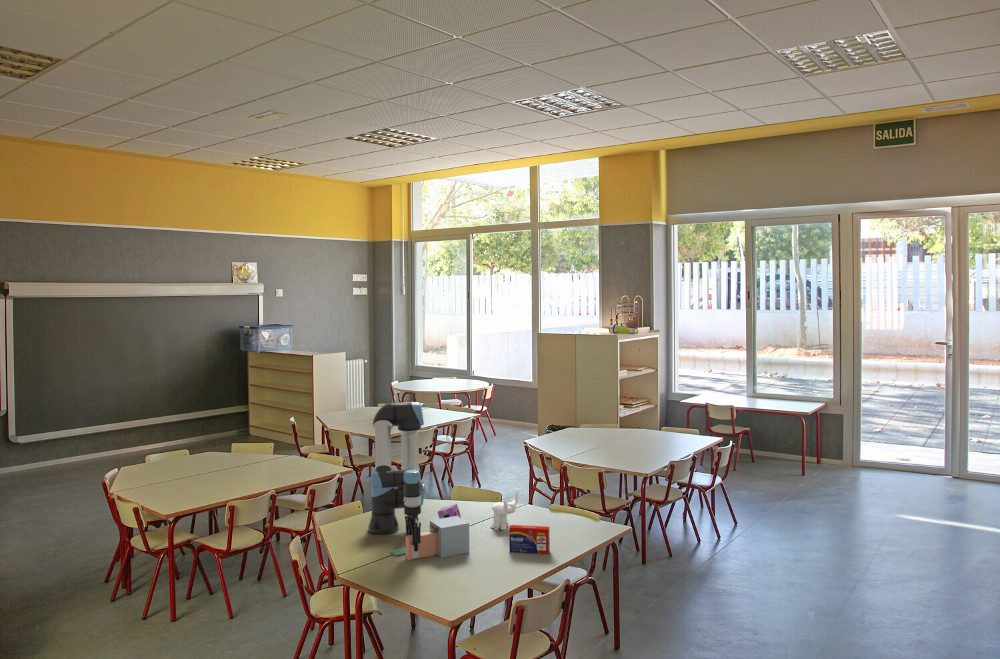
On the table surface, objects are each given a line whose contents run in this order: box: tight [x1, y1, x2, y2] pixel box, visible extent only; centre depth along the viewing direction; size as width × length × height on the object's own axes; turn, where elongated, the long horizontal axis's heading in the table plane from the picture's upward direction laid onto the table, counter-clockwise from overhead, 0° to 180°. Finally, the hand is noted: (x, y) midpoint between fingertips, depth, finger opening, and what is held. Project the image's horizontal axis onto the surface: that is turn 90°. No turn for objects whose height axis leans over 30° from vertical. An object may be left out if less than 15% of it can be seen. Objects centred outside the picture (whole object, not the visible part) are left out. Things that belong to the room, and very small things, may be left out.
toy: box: [437, 503, 463, 519], centre depth 358 cm, size 11×8×15 cm
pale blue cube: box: [429, 516, 470, 559], centre depth 336 cm, size 13×15×14 cm
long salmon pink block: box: [405, 530, 438, 561], centre depth 330 cm, size 4×16×10 cm, turn 119°
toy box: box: [508, 524, 551, 555], centre depth 334 cm, size 18×4×12 cm, turn 79°
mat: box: [389, 547, 406, 557], centre depth 337 cm, size 6×17×1 cm, turn 119°
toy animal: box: [490, 490, 519, 531], centre depth 369 cm, size 20×12×17 cm, turn 161°
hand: (413, 556), depth 328 cm, fingers closed on long salmon pink block, 3 cm apart
